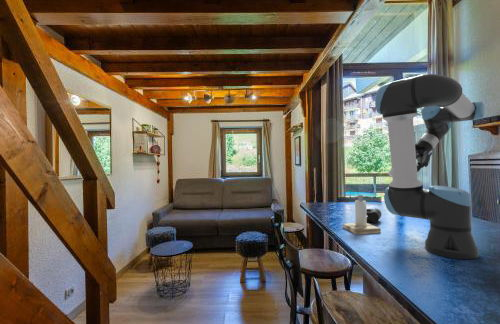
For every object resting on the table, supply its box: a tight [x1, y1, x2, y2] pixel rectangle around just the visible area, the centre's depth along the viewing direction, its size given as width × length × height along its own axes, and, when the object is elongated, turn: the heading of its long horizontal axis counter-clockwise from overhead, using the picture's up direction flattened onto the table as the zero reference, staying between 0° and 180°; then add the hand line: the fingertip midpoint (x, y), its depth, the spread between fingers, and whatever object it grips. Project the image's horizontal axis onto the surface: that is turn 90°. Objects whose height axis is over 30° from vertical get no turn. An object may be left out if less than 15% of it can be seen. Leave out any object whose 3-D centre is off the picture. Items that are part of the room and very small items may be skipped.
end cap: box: [366, 208, 382, 225], centre depth 134 cm, size 10×7×7 cm
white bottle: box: [354, 194, 368, 227], centre depth 119 cm, size 5×5×15 cm
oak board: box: [342, 222, 382, 235], centre depth 119 cm, size 12×12×2 cm
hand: (398, 175), depth 122 cm, fingers open, 13 cm apart
